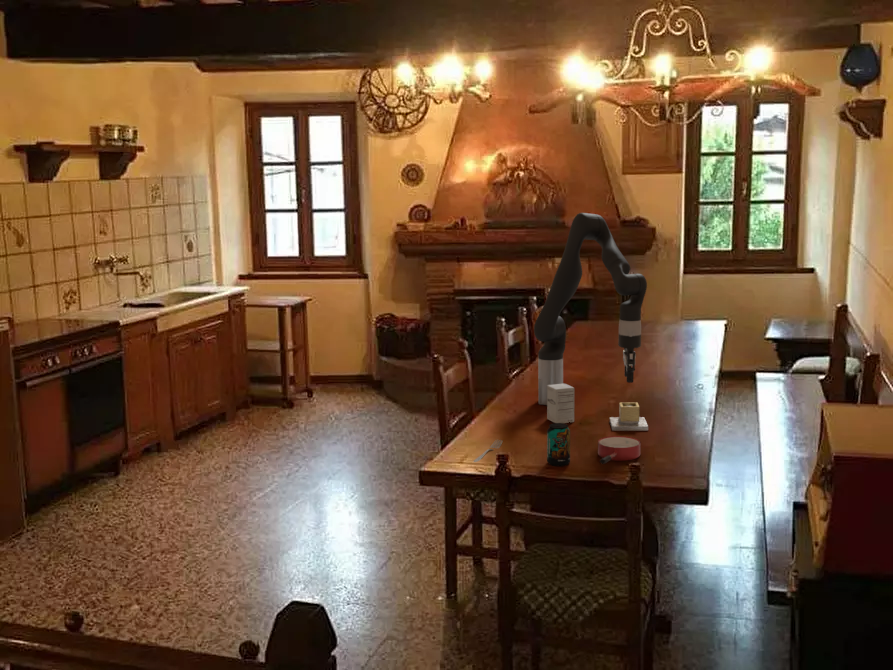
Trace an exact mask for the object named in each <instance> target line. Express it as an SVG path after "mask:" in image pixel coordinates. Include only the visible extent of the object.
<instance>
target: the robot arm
mask: <svg viewBox="0 0 893 670" xmlns="http://www.w3.org/2000/svg"><path fill="white" fill-rule="evenodd" d="M584 240H588V241H589V240H590V241H595V242H597V244H598V245H599V246H600V247H601V261H602V263H603V265H604V267H605V268H606V270H607V271H608V273H609V274H610V275H611V279H612V281H613V286H614V289H615V291H616V292H617V294H619V295H621V296H630V297H629V299H628V300H626V301H624V302H621V304H620V305H619V322H618V343H617V344H618V346H619V347H620V348H623V351H622V355H623V356H622V360H623V365H624V377H626V383H629V384H631V383H634V378H635V377H634V373H635V371H636V368H635V367H636V357H637V353H636V351H634V350H635V349H639V348H640V347H641V346H642V321H641V320H642V306H643V302H644V299H645V296H646V292H647V288H648V287H647V286H648V282H647V279H646V277H645V276H644V274H642V273H630V272H631V266H630V264H629V262H628V260H627V259H626V258H625V256H624V255H623V253H622V252H621V251H620V249H619V247H618V245H617V244H616V242H615V239H614V236H613V235H612V233H611V230H610V229H609V226H608V223H607V221H606V220H605V218H603V216H601V215H600V214H597V213H596V214H595V213H587V212H580V213H577V214H576V215H575V216H574V218H573V220H572V222H571V225H570V229H569V231H568V236H567V240H566V244H565V247H564V251H563V253H562V256H561V260H560V262H559V265H558V266H557V269H556V272H555V274H554V277H553V279H552V280H553V281H552V283H551V287H550V289H549V291H548V294H547V296H546V299H545V302H544V304H543V305H542V306H543V307H542V308H541V311H540V312H539V314H538V316H537V318H536V319H535V323H534V325H533V332H534V336H535V338H536V339H537V340H538V341H539V342H544V343H543V344H542V347H541V348H540V349H539V350H538V351H537V352H538V353H537V356H538V357H537V358H538V361H537V362H538V365H537V366H538V369H537V370H538V371H537V372H538V379H537V380H538V389H537V390H538V391H537V392H538V405H544V406H547V385H553V384H562V383H564V352H565V350H566V338H567V337H566V336H567V328H566V323H565V320H564V319H563V317H561V316H560V314H561V312H562V311H563V309H564V308H565V307H566V305H567V304H568V303H569V301H570V300H571V299H572V298H573V296H574V295H575V294H576V292H577V290H578V287H579V285H580V282H581V280H582V276H583V267H582V266H583V265H582V261H581V257H580V254H581V252H580V251H581V248H582V245H583V242H584ZM629 273H630V274H629Z"/></svg>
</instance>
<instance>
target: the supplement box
mask: <svg viewBox="0 0 893 670" xmlns="http://www.w3.org/2000/svg"><path fill="white" fill-rule="evenodd" d="M546 407H547V409H546V413H547V414H546V417H547V418H546V419H547V420H549V422H550V421H551V422H552V423H563V424H567V423H569V422H570V423H574V422H575V387H573V386H571V385H569V384H567V383H564V382H563V383H562V384H553V385H547V405H546Z"/></svg>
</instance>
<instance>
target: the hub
mask: <svg viewBox="0 0 893 670" xmlns="http://www.w3.org/2000/svg"><path fill="white" fill-rule="evenodd" d="M626 405H631V406H626ZM618 410H619V411H618V413H619V415H618V417H620V420H621V421H639V417H640V405H639V403H638V402H619V408H618Z"/></svg>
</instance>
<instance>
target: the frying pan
mask: <svg viewBox="0 0 893 670" xmlns="http://www.w3.org/2000/svg"><path fill="white" fill-rule="evenodd" d="M597 454H598V456H599V457H600V458H601V459H600V460H599V462H600V464H601V465H604V464H607V463H608V462H609V461H615V462H616V461H619V462H620V461H621V462H622V461H623V462H627V461H633V460H636V459H638V458H640V456H641V440H640V439H637V438H635V437H631V436H626V435H625V436H624V435H610V436H603V437H602V438H599V439H598V440H597Z"/></svg>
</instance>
